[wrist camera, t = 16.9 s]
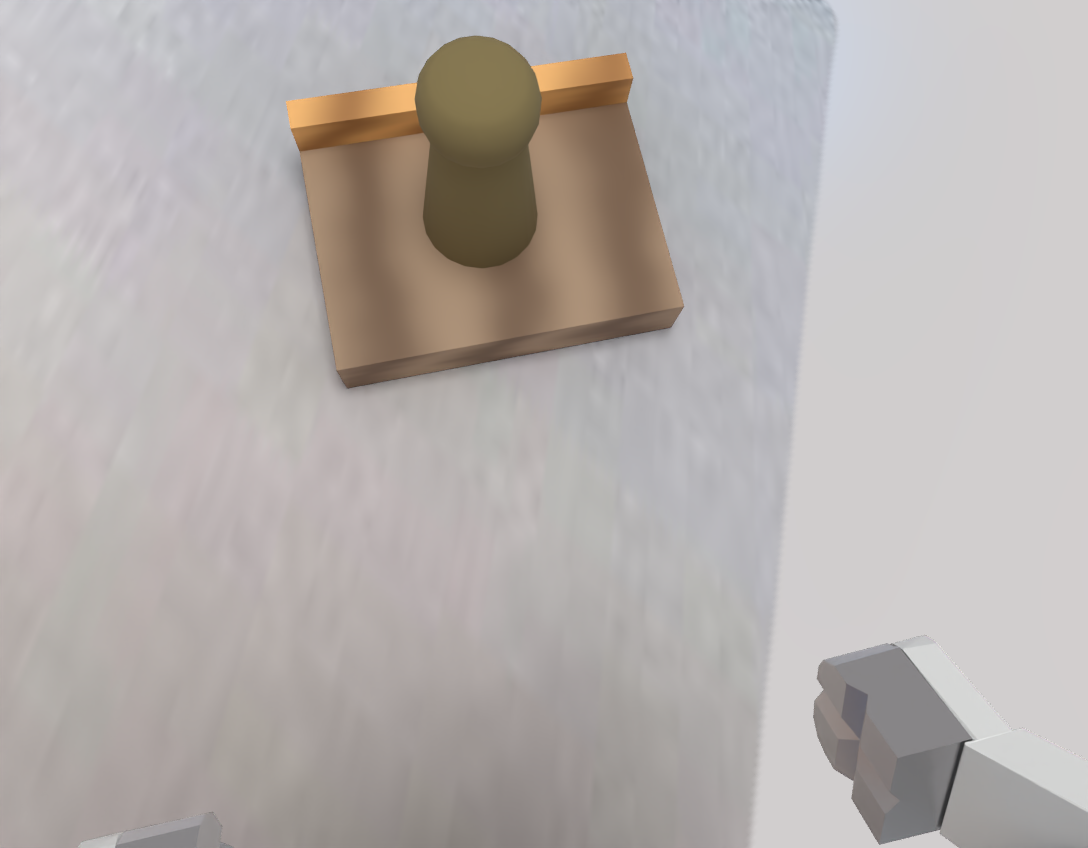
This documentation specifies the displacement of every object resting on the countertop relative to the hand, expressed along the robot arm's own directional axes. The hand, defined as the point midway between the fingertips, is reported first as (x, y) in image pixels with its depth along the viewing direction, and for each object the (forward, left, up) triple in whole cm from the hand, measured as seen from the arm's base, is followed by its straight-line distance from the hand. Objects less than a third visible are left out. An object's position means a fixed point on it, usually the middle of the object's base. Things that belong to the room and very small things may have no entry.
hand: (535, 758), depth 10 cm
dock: (+4, +22, -29) cm, 37 cm away
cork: (+4, +22, -27) cm, 35 cm away
